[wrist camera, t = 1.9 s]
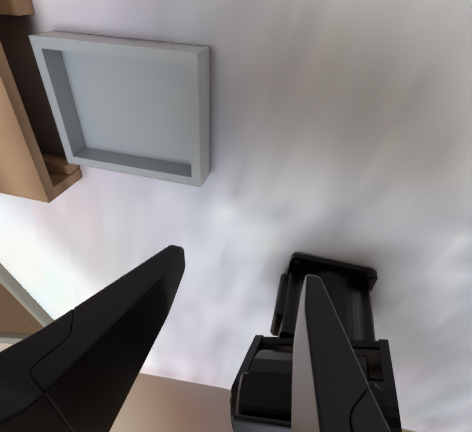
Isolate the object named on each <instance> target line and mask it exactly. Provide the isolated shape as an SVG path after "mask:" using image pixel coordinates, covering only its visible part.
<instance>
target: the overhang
mask: <svg viewBox="0 0 472 432" xmlns="http://www.w3.org/2000/svg"><path fill="white" fill-rule="evenodd" d="M0 14H6V15H16V16H21V15H30V14H34V10H33V7H32V3H31V0H0ZM78 168H79V165H76V164H71V163H68V161H67V158H66V157H65V156H59V155H53V154H48V153H42V152H40V149H39V147H38V144H37V141H36V138H35V136H34V133H33V130H32V127H31V125H30V122H29V119H28V116H27V113H26V111H25V108H24V105H23V102H22V100H21V97H20V94H19V91H18V89H17V86H16V83H15V80H14V78H13V75H12V72H11V69H10V67H9V64H8V61H7V58H6V56H5V53H4V50H3V47H2V45H1V42H0V193H4V194H9V195H14V196H18V197H23V198H28V199H33V200H38V201H43V202H47V203H50V202H51V201H52V200H54V199H55V198H56V197H57V196H59V195H60V194H61V193H63V192H64V191H65V190H66V189H68V188H69V187H70V186H72V185H73V184H74V183H76V182H77V181H78V180H79V179H81V178H82V175H81V172H80V169H78Z"/></svg>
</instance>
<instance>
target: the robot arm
mask: <svg viewBox="0 0 472 432" xmlns="http://www.w3.org/2000/svg"><path fill="white" fill-rule="evenodd" d="M296 260H299V261H296ZM184 270H185V257H184V249H183V248H182V247H180V246H175V245H170V246H168V247H167V248H165V249H163V250H162V251H160V252H159V253H157V254H156V255H154V256H153V257H151V258H150V259H148V260H147V261H145V262H144V263H142V264H141V265H139V266H138V267H136V268H134V269H133V270H131V271H130V272H128V273H127V274H125V275H124V276H122V277H121V278H119V279H118V280H116V281H115V282H113V283H112V284H110V285H108V286H107V287H105V288H104V289H102V290H101V291H99V292H98V293H96V294H95V295H93V296H92V297H90V298H89V299H87V300H86V301H84V302H83V303H81V304H79V305H78V306H76V307H75V308H74V310H73V309H72V310H70V311H69V312H67V313H66V314H64V315H63V316H61V317H59V318H58V319H56V320H55V321H53V322H51V323H50V324H48V325H47V326H45V327H43V328H42V329H40V330H38V331H37V332H35V333H33V334H31V335H30V336H28V337H26V338H24V339H23V340H21V341H19V342H17V343H16V344H14V345H12V346H10V347H8V348H6V349H5V350H3V351H1V352H0V432H109V431H110V429H111V427H112V425H113V423H114V421H115V419H116V417H117V415H118V413H119V411H120V409H121V407H122V405H123V403H124V401H125V399H126V397H127V395H128V393H129V391H130V389H131V387H132V385H133V383H134V382H135V379H136V378H137V376H138V374H139V372H140V370H141V368H142V366H143V364H144V362H145V360H146V358H147V356H148V354H149V352H150V350H151V348H152V346H153V344H154V342H155V340H156V338H157V336H158V334H159V332H160V330H161V328H162V326H163V324H164V322H165V320H166V318H167V316H168V314H169V311H170V309H171V306H172V303H173V301H174V298H175V295H176V292H177V290H178V287H179V284H180V281H181V279H182V276H183V273H184ZM368 275H372V276H368ZM376 280H377V272H376V271H375V270H373V269H369V268H364V267H359V266H355V265H350V264H345V263H340V262H335V261H331V260H326V259H321V258H316V257H311V256H306V255H302V254H293V255H292V256H291V259H290V264H289V268H288V273H287V274H285V273H284V274H282V275H281V279H280V284H279V289H278V294H277V299H276V304H275V310H274V315H273V320H272V326H271V331H270V332H271V333H272V335H274V336H278V337H264V336H263V335H255V337H254V339H253V342H252V344H251V346H250V348H249V350H248V352H247V354H246V356H245V359H244V361H243V363H242V365H241V367H240V370H239V372H238V374H237V376H236V378H235V381H234V383H233V385H232V388H231V397H230V405H231V422H232V427H233V430H234V432H402V429H401V421H400V414H399V407H398V400H397V394H396V387H395V381H394V375H393V368H392V362H391V356H390V350H389V344H388V340H382V339H379V341H376V340H375V331H374V322H373V313H372V304H371V295H370V293H371V291H372V289H373V286H374V284H375V282H376Z"/></svg>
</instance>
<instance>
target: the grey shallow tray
mask: <svg viewBox="0 0 472 432" xmlns="http://www.w3.org/2000/svg"><path fill="white" fill-rule="evenodd" d="M28 36H29V39H30V42H31V45H32V48H33V52H34V55H35V58H36V61H37V65H38V68H39V71H40V74H41V77H42V81H43V84H44V87H45V90H46V93H47V97H48V100H49V103H50V106H51V109H52V113H53V116H54V119H55V122H56V126H57V129H58V132H59V135H60V138H61V142H62V145H63V148H64V151H65V154H66V158H67V161H68V163H71V164H76V165H82V166H87V167H93V168H99V169H104V170H110V171H115V172H121V173H126V174H132V175H137V176H143V177H148V178H154V179H159V180H165V181H170V182H176V183H181V184H187V185H192V186H198V187H201V186H202V184H203V183H204V181H205V180H206V178H207V177H208V175H209V174H210V47H208V46H198V45H188V44H179V43H169V42H159V41H149V40H139V39H129V38H119V37H109V36H99V35H90V34H80V33H70V32H60V31H50V32H44V33H38V34H33V35H28Z"/></svg>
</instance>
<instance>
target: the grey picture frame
mask: <svg viewBox="0 0 472 432" xmlns="http://www.w3.org/2000/svg"><path fill="white" fill-rule="evenodd" d="M53 321H54V320H53V319H52V318H51V317H50V316H49V315H48V314H47V313H46V311H45V310H44V309H43V308H42V307H41V306H40V305H39V304H38V303H37V302H36V301H35V300H34V299H33V298H32V297H31V295H30V294H29V293H28V292H27V291H26V290H25V289H24V288H23V287H22V286H21V285H20V284H19V283H18V282H17V281H16V279H15V278H14V277H13V276H12V275H11V274H10V273H9V272H8V271H7V270H6V269H5V268H4V267H3V266H2V265H1V263H0V343H9V344H16V343H17V342H19V341H21V340H23V339H24V338H26V337H28V336H30V335H31V334H33V333H35V332H37V331H38V330H40V329H42V328H43V327H45V326H47V325H48V324H50V323H51V322H53Z"/></svg>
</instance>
